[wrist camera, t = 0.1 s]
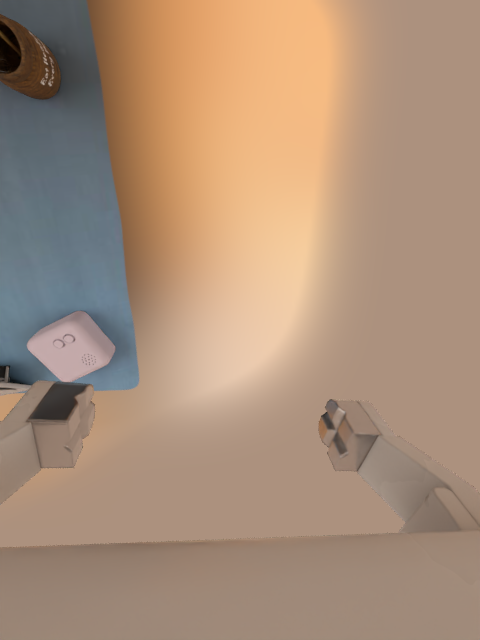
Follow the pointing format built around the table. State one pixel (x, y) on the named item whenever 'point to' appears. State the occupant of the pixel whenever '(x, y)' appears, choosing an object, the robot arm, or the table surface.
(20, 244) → the table surface
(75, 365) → the electronic device
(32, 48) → the utensil holder
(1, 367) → the light switch
